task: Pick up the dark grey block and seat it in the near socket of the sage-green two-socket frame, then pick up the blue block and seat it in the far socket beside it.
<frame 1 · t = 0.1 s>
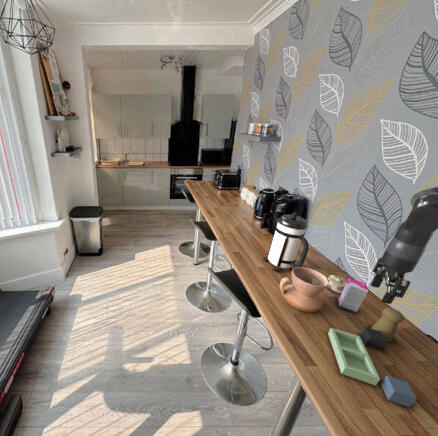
hand: (379, 294, 79), 18 cm above the table, tool pointing down, fingers open, 8 cm apart
pad frame: (349, 356, 77), on the table
dark grey block: (370, 342, 82), on the table
blue block: (394, 395, 66), on the table
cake: (335, 286, 109), on the table
cork: (380, 334, 86), on the table
ceramic jug: (297, 303, 99), on the table
supplement box: (346, 306, 98), on the table
coffee press: (281, 266, 123), on the table
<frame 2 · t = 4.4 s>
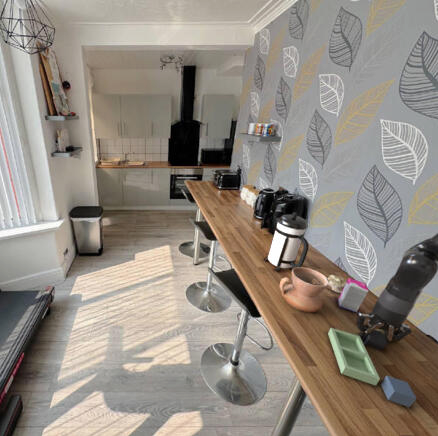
hand: (371, 341, 82), 0 cm above the table, tool pointing down, fingers closed on dark grey block, 4 cm apart
dark grey block: (370, 342, 82), on the table, touching gripper
everything else where it was.
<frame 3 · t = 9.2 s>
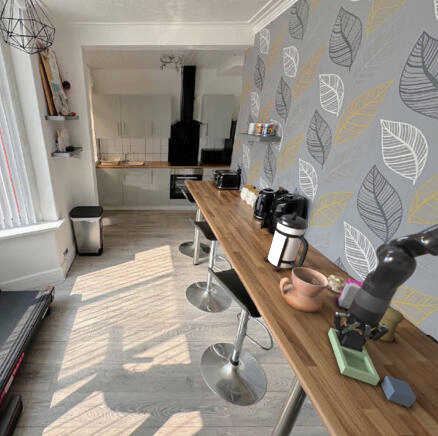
hand: (348, 341, 79), 3 cm above the table, tool pointing down, fingers closed on dark grey block, 4 cm apart
dark grey block: (348, 342, 79), point 2 cm above the table, touching gripper
everything else where it was.
when the fingers open (4 cm above the table, at t = 15.2 s): dark grey block drops 3 cm, resting on pad frame.
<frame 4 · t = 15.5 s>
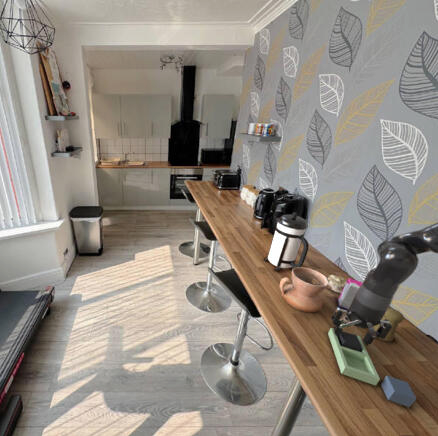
hand: (350, 338, 78), 4 cm above the table, tool pointing down, fingers open, 7 cm apart
dark grey block: (346, 346, 80), resting on pad frame
everything else where it was.
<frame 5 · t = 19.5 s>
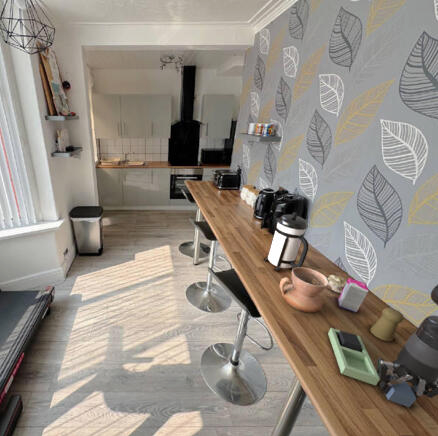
hand: (395, 394, 66), 0 cm above the table, tool pointing down, fingers closed on blue block, 4 cm apart
blue block: (394, 395, 66), on the table, touching gripper
everything else where it was.
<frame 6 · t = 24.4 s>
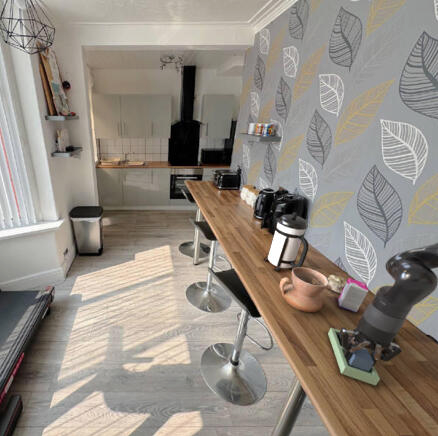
hand: (356, 361, 72), 3 cm above the table, tool pointing down, fingers closed on blue block, 4 cm apart
blue block: (356, 362, 73), point 2 cm above the table, touching gripper
everything else where it was.
when the fingers open (3 cm above the table, at t = 30.4 s): blue block drops 3 cm, resting on pad frame.
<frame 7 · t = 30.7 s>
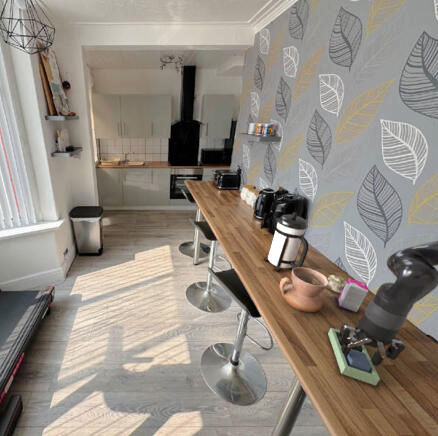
hand: (358, 358, 72), 4 cm above the table, tool pointing down, fingers open, 6 cm apart
blue block: (353, 365, 73), resting on pad frame
everything else where it was.
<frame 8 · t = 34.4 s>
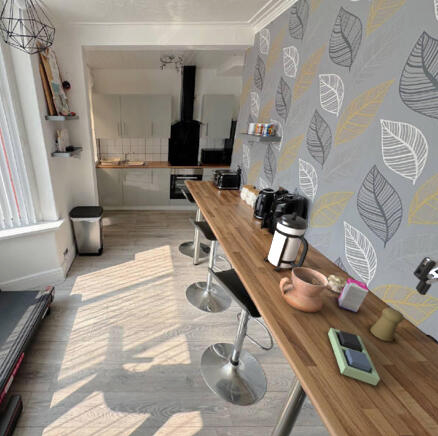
nothing on the table moved.
at the end: dark grey block 0.0 cm from the target spot in the pad frame, point 0.5 cm above the pad frame's base; blue block 0.0 cm from the target spot in the pad frame, point 0.5 cm above the pad frame's base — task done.
